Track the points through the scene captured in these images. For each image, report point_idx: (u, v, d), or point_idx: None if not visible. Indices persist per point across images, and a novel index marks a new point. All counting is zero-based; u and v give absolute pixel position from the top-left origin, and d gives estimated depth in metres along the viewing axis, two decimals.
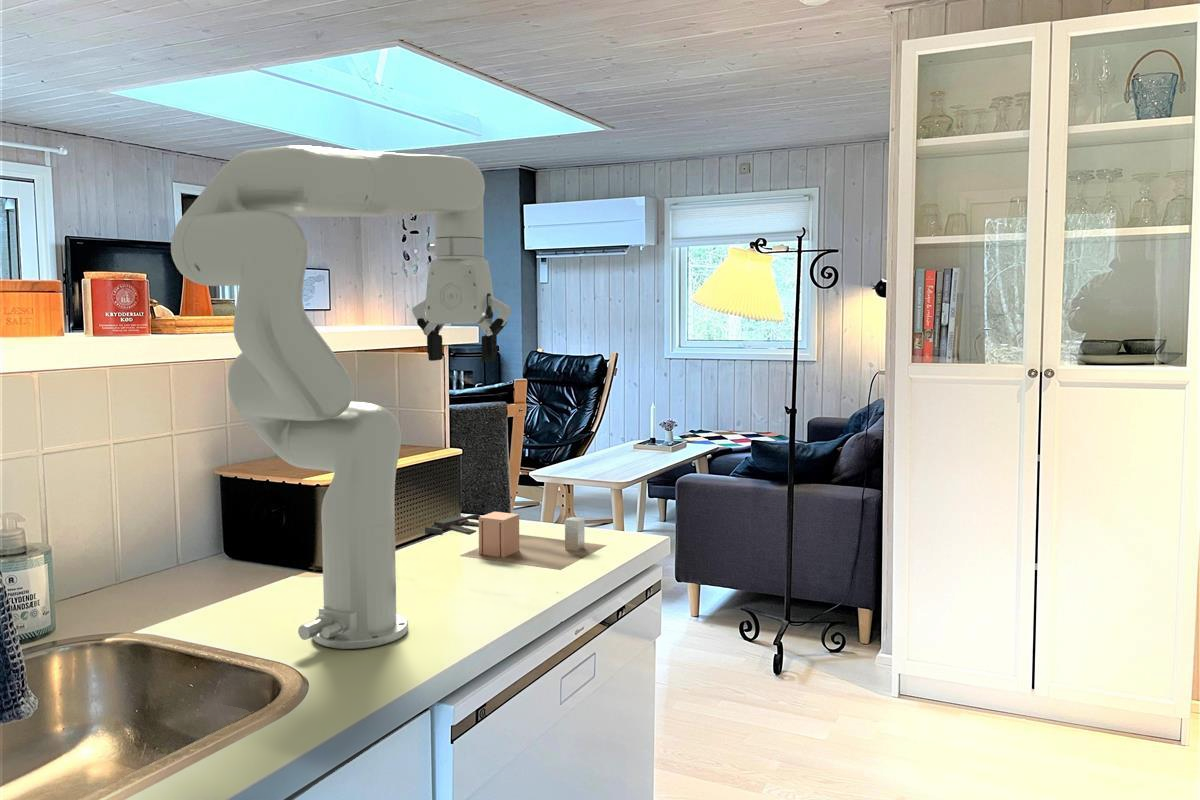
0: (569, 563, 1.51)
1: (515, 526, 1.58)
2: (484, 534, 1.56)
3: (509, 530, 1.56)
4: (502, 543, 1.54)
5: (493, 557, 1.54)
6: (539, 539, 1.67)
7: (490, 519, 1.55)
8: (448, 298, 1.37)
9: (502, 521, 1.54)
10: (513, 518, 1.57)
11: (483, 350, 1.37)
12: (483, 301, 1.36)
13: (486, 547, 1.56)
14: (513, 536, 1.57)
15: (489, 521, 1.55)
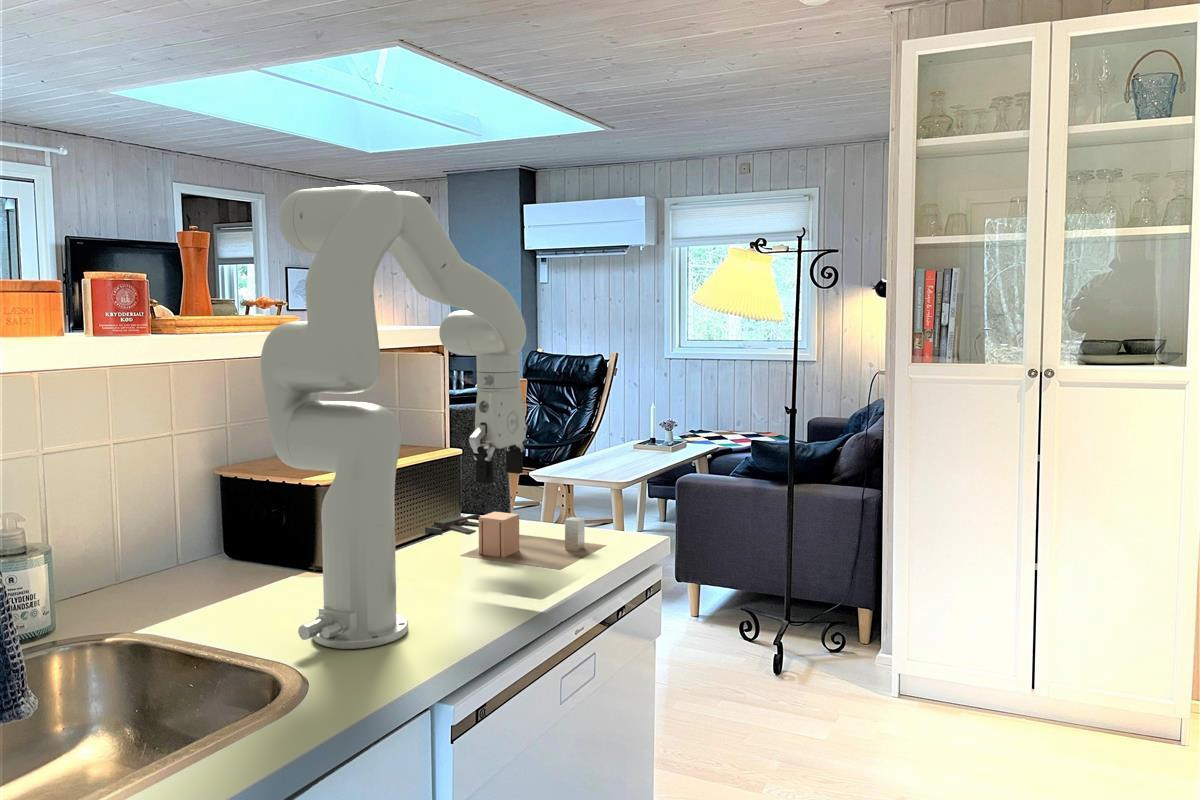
0: (569, 563, 1.51)
1: (515, 526, 1.58)
2: (484, 534, 1.56)
3: (509, 530, 1.56)
4: (502, 543, 1.54)
5: (493, 557, 1.54)
6: (539, 539, 1.67)
7: (490, 519, 1.55)
8: (511, 424, 1.54)
9: (502, 521, 1.54)
10: (513, 518, 1.57)
11: (521, 464, 1.61)
12: None
13: (486, 547, 1.56)
14: (513, 536, 1.57)
15: (489, 521, 1.55)
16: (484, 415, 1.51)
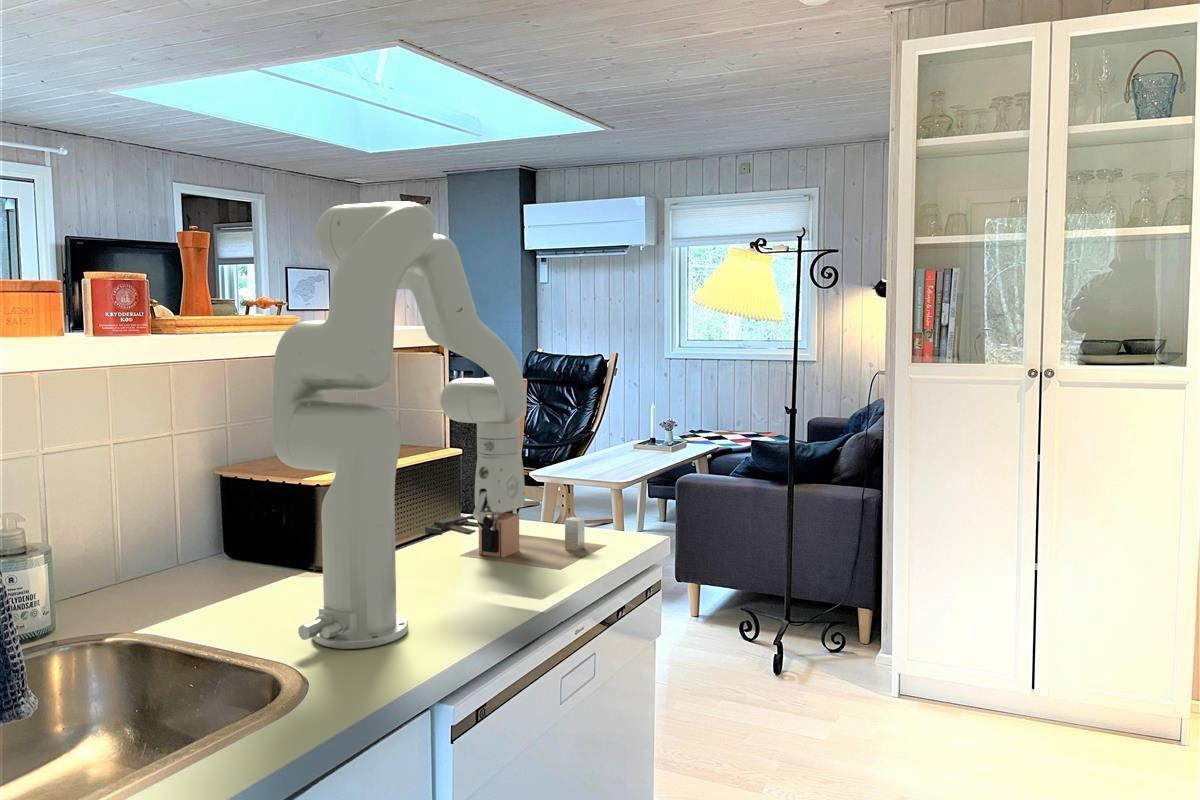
0: (569, 563, 1.51)
1: (515, 526, 1.58)
2: None
3: (509, 530, 1.56)
4: (502, 543, 1.54)
5: (493, 557, 1.54)
6: (539, 539, 1.67)
7: (490, 519, 1.55)
8: (511, 489, 1.55)
9: (502, 521, 1.54)
10: (513, 518, 1.57)
11: None
12: None
13: None
14: (513, 536, 1.57)
15: None
16: (484, 481, 1.52)
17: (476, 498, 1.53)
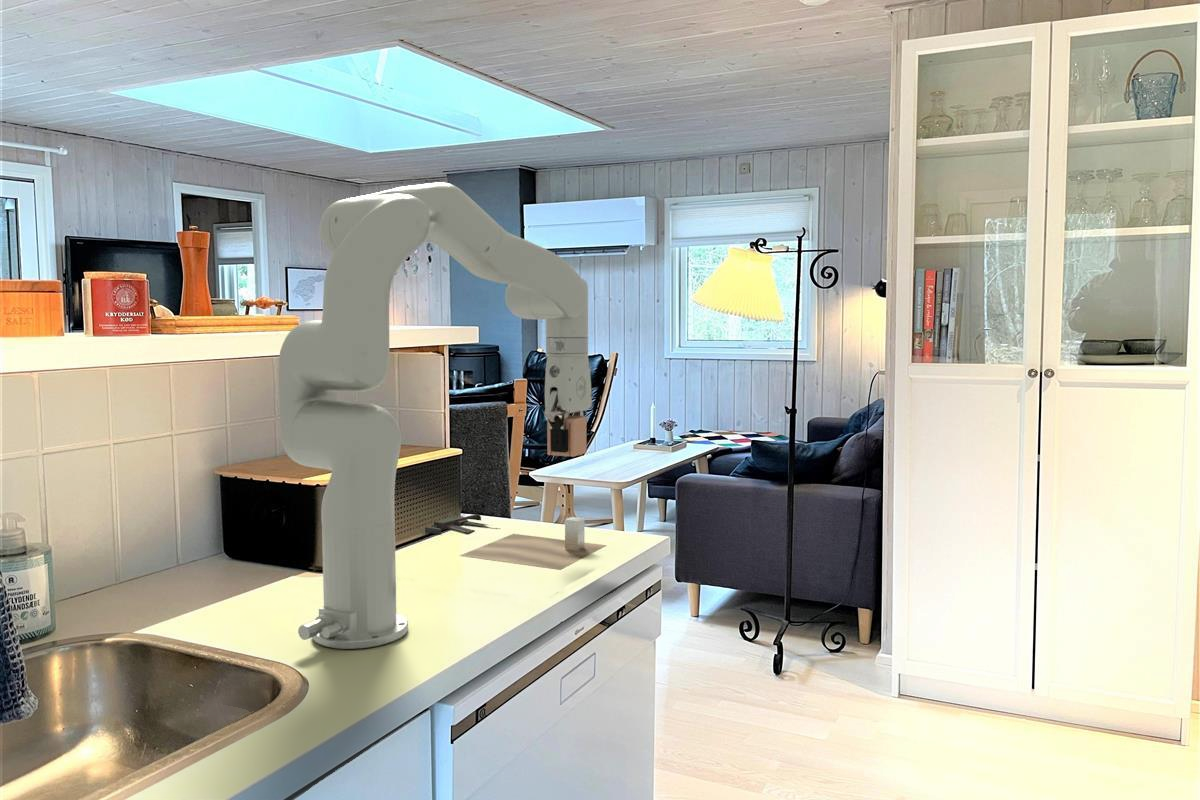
0: (569, 563, 1.51)
1: (583, 427, 1.58)
2: None
3: (578, 430, 1.57)
4: (572, 443, 1.55)
5: (493, 557, 1.54)
6: (539, 539, 1.67)
7: None
8: (580, 389, 1.56)
9: (572, 420, 1.55)
10: (581, 419, 1.58)
11: None
12: None
13: None
14: (581, 438, 1.58)
15: None
16: (554, 380, 1.53)
17: (546, 397, 1.54)
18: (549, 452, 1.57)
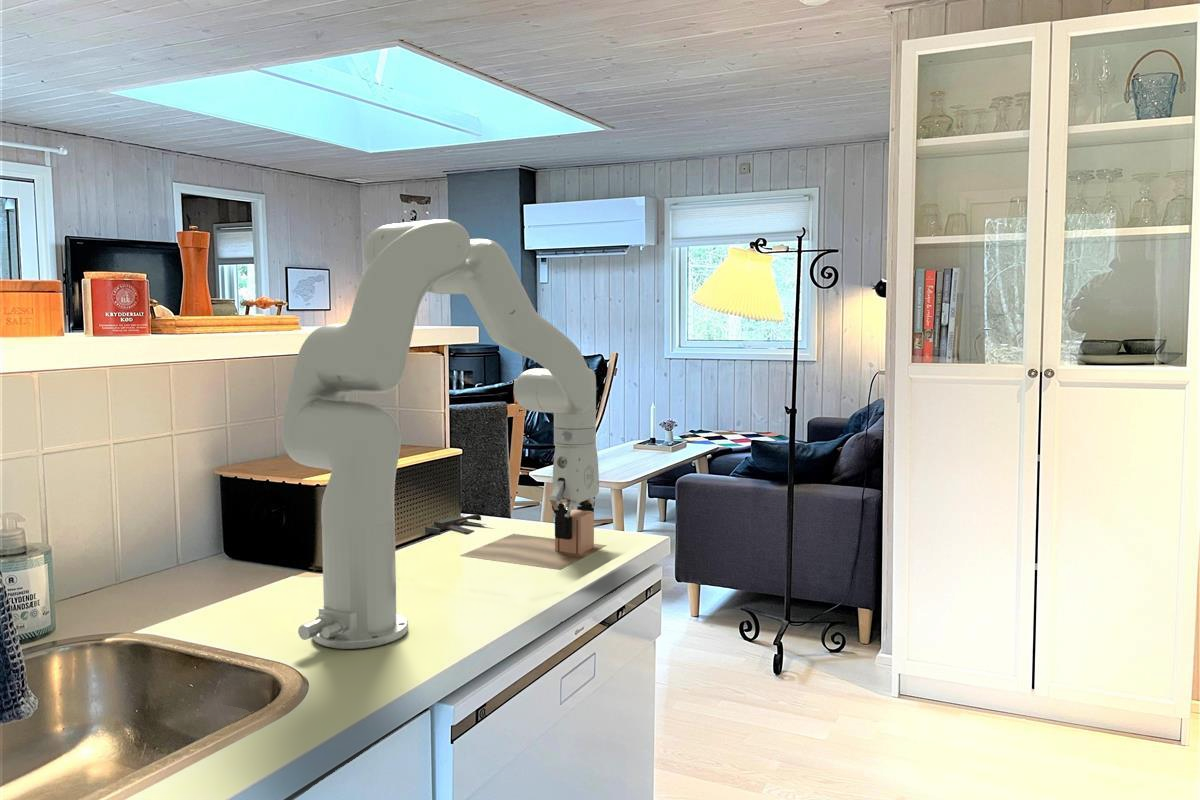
0: (569, 563, 1.51)
1: (590, 523, 1.60)
2: None
3: (585, 527, 1.58)
4: (579, 540, 1.57)
5: (493, 557, 1.54)
6: (539, 539, 1.67)
7: None
8: (587, 479, 1.57)
9: (579, 518, 1.56)
10: (589, 515, 1.59)
11: None
12: None
13: (562, 544, 1.58)
14: (589, 533, 1.60)
15: None
16: (562, 470, 1.54)
17: (554, 487, 1.55)
18: (557, 548, 1.59)
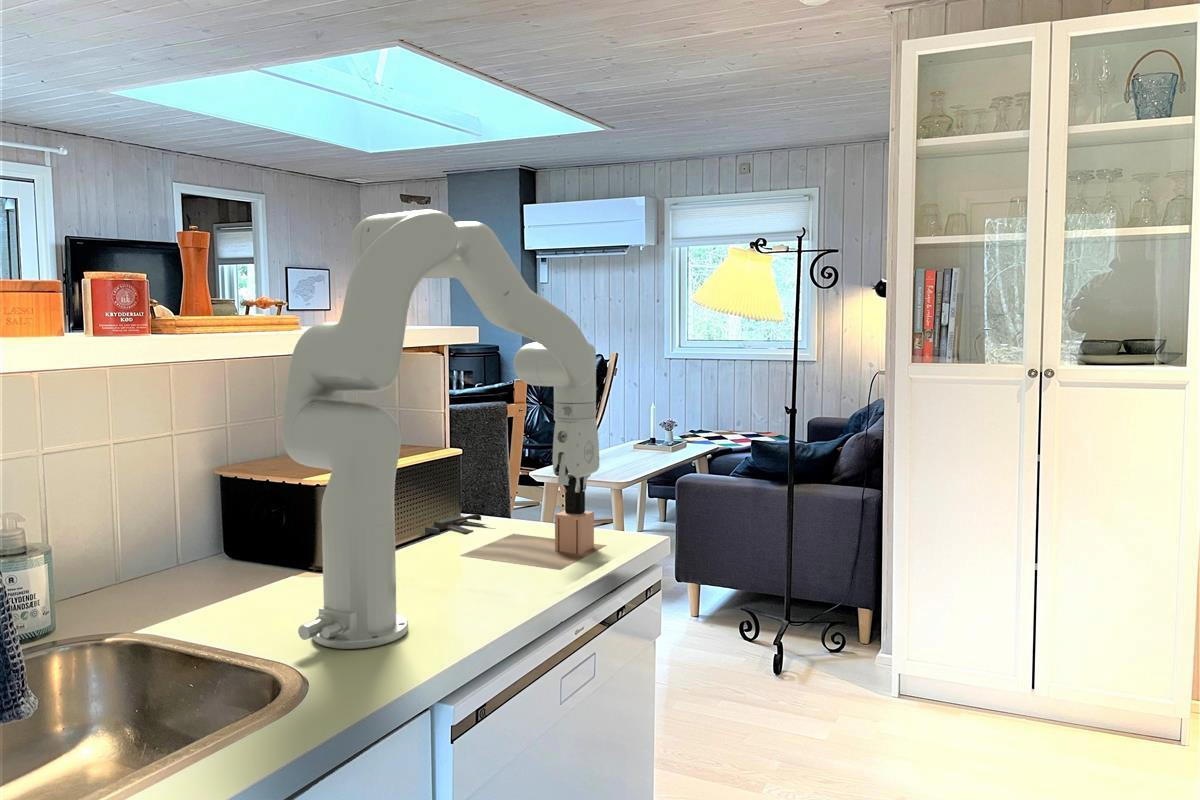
0: (569, 563, 1.51)
1: (590, 523, 1.60)
2: (560, 531, 1.58)
3: (585, 527, 1.58)
4: (579, 540, 1.57)
5: (493, 557, 1.54)
6: (539, 539, 1.67)
7: (567, 516, 1.58)
8: (587, 453, 1.57)
9: (579, 518, 1.56)
10: (589, 515, 1.59)
11: (584, 503, 1.59)
12: None
13: (562, 544, 1.58)
14: (589, 533, 1.60)
15: (566, 518, 1.58)
16: (562, 445, 1.54)
17: (554, 462, 1.55)
18: (557, 548, 1.59)
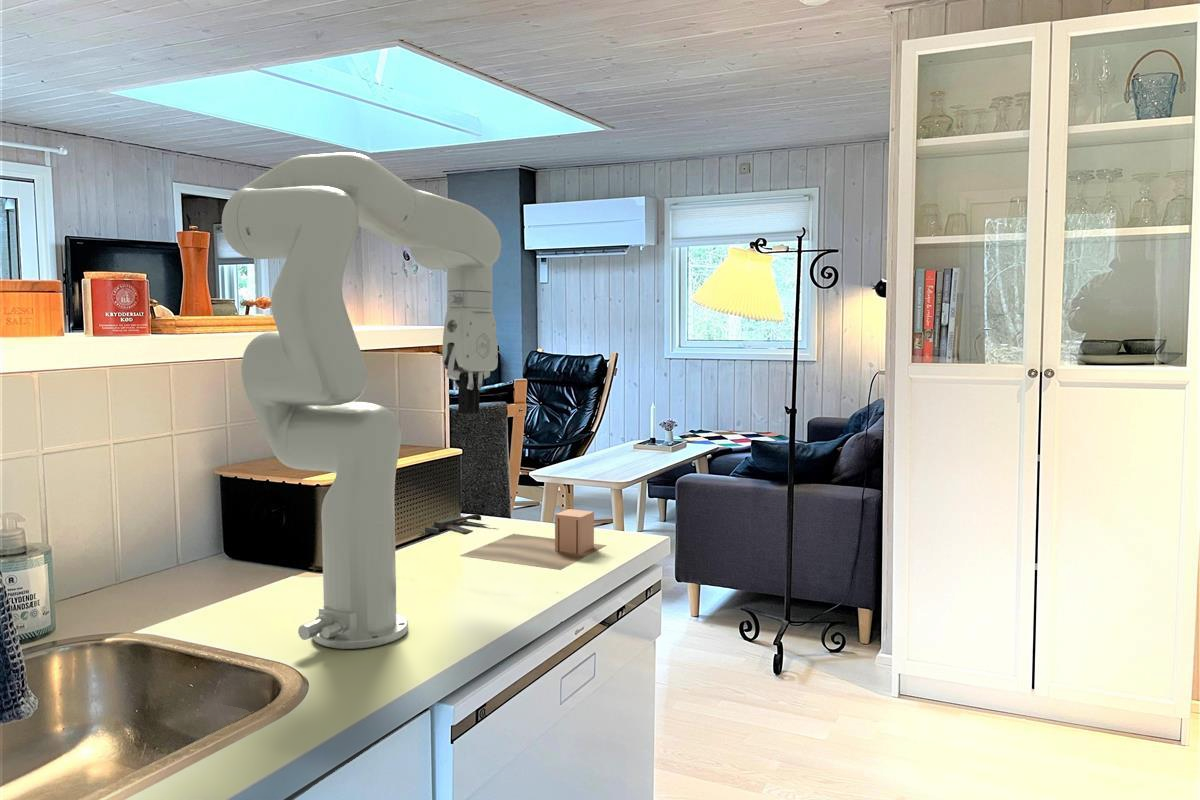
0: (569, 563, 1.51)
1: (590, 523, 1.60)
2: (560, 531, 1.58)
3: (585, 527, 1.58)
4: (579, 540, 1.57)
5: (493, 557, 1.54)
6: (539, 539, 1.67)
7: (567, 516, 1.58)
8: (481, 347, 1.47)
9: (579, 518, 1.56)
10: (589, 515, 1.59)
11: (478, 402, 1.49)
12: None
13: (562, 544, 1.58)
14: (589, 533, 1.60)
15: (566, 518, 1.58)
16: (452, 335, 1.44)
17: (444, 354, 1.45)
18: (557, 548, 1.59)
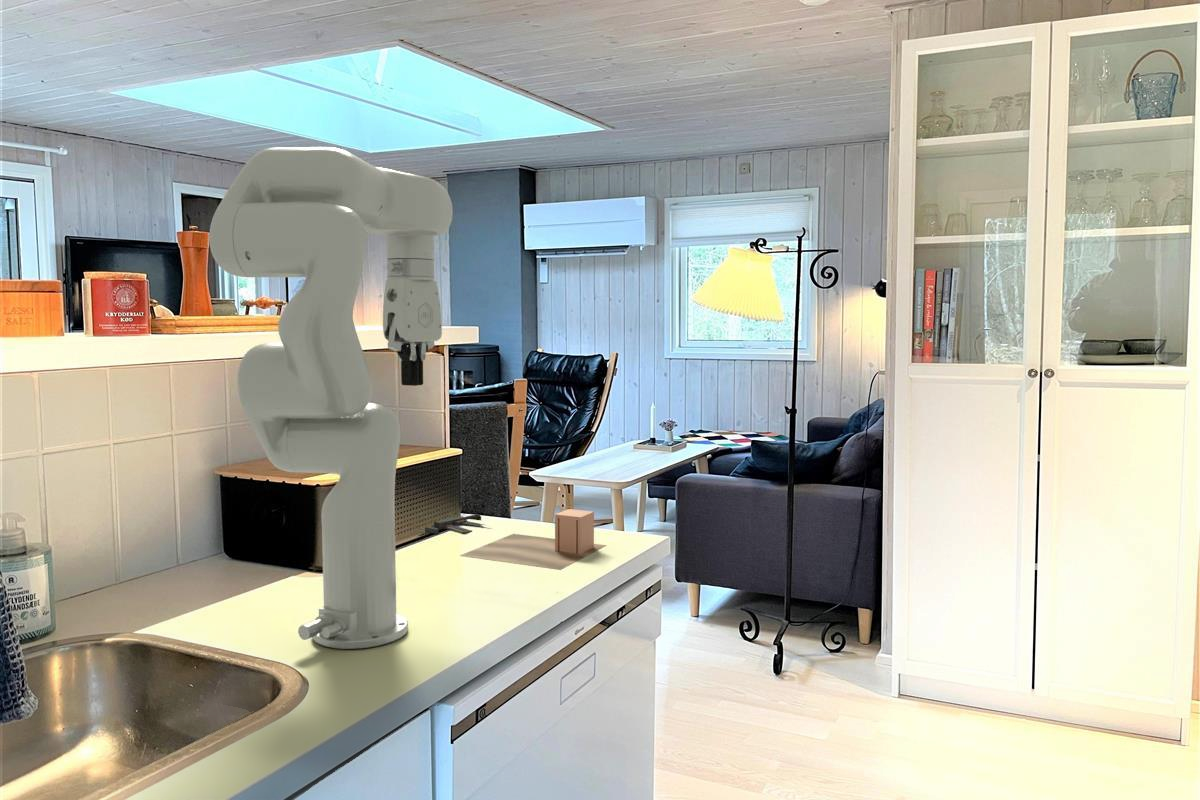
0: (569, 563, 1.51)
1: (590, 523, 1.60)
2: (560, 531, 1.58)
3: (585, 527, 1.58)
4: (579, 540, 1.57)
5: (493, 557, 1.54)
6: (539, 539, 1.67)
7: (567, 516, 1.58)
8: (423, 317, 1.42)
9: (579, 518, 1.56)
10: (589, 515, 1.59)
11: (421, 374, 1.44)
12: None
13: (562, 544, 1.58)
14: (589, 533, 1.60)
15: (566, 518, 1.58)
16: (392, 304, 1.39)
17: (384, 324, 1.40)
18: (557, 548, 1.59)
